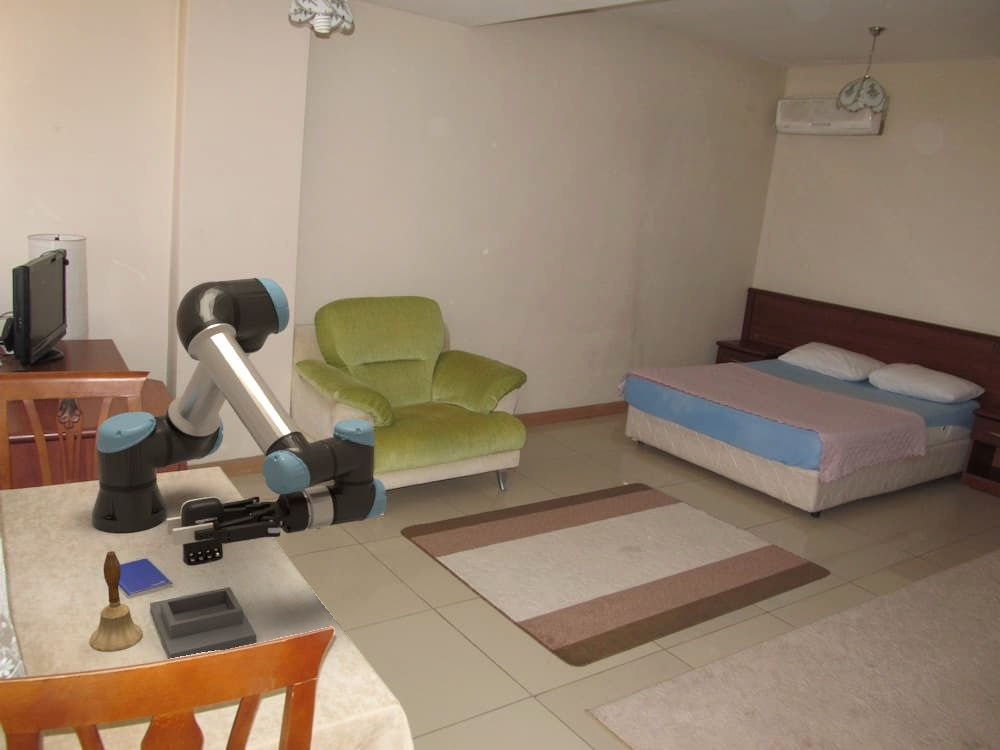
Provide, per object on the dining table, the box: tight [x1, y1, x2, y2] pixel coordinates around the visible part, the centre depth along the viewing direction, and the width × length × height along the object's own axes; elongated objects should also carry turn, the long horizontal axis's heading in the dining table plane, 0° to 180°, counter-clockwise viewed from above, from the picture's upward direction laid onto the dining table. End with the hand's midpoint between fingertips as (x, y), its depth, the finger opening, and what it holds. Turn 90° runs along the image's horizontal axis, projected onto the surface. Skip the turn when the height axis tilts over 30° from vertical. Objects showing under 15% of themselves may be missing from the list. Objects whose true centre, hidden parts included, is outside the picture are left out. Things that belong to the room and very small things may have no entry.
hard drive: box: [118, 558, 173, 600], centre depth 163 cm, size 2×8×12 cm
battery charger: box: [179, 495, 225, 567], centre depth 146 cm, size 7×4×11 cm, turn 124°
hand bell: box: [89, 551, 144, 652], centre depth 142 cm, size 8×8×16 cm
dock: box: [149, 586, 257, 659], centre depth 149 cm, size 18×14×4 cm
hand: (170, 532), depth 143 cm, fingers closed on battery charger, 4 cm apart
